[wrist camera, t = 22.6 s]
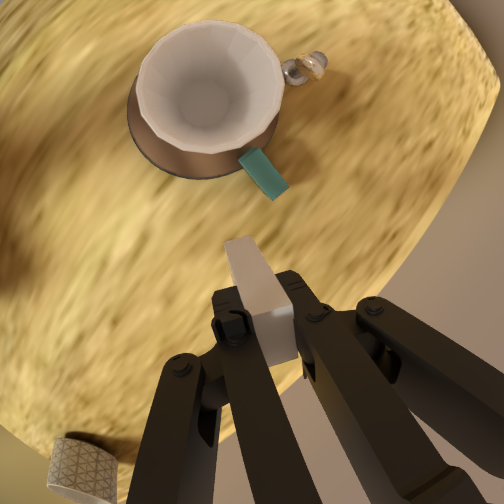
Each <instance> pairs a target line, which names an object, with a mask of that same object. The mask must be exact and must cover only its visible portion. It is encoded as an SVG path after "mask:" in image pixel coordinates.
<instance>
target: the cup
mask: <svg viewBox="0 0 504 504" xmlns="http://www.w3.org/2000/svg"><path fill="white" fill-rule="evenodd" d="M284 87H285V82H284V77H283V73H282V68H281V64H280V59H279V58H278V56H277V55H276V54H275V52H274V51H273V50H272V48H271V47H270V46H269V44H268V43H267V42H266V40H265V39H264V38H263V37H261V36H260V35H258V34H256V33H255V32H253V31H251V30H250V29H248V28H246V27H245V26H243V25H241V24H237V23H232V22H226V21H220V20H213V19H211V20H205V21H199V22H194V23H189V24H185V25H182V26H180V27H179V28H177V29H175V30H174V31H172V32H170V33H169V34H167V35H165V36H164V37H162V38H161V39H159V40H158V41H157V42H156V44H155V45H154V46H153V48H152V49H151V50H150V52H149V53H148V54H147V56H146V57H145V58H144V60H143V61H142V63H141V67H140V71H139V75H138V80H137V84H136V94H137V99H138V104H139V108H140V113H141V116H142V117H143V118H144V120H145V121H146V122H147V124H148V125H149V126H150V127H151V129H152V130H153V131H154V133H155V134H156V135H157V137H159V138H161V139H163V140H164V141H166V142H168V143H170V144H172V145H174V146H175V147H177V148H179V149H181V150H183V151H191V152H199V153H206V154H215V153H219V152H223V151H227V150H232V149H236V148H241V147H242V146H244V145H245V144H246V143H248V142H249V141H251V140H253V139H254V138H256V137H257V136H259V135H260V134H262V133H263V132H264V131H265V130H266V129H267V127H268V126H269V124H270V123H271V121H272V120H273V118H274V117H275V116H276V114H277V113H278V111H279V110H280V106H281V101H282V96H283V92H284Z"/></svg>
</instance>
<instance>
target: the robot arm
mask: <svg viewBox="0 0 504 504" xmlns="http://www.w3.org/2000/svg"><path fill="white" fill-rule="evenodd" d="M223 243H224V247H225V251H226V255H227V259H228V263H229V267H230V271H231V275H232V279H233V283H234V286H233V287H229V288H225V289H221V290H217V291H215V292H214V294H213V296H212V305H213V310H214V316H215V317H214V318H213V319H212V323H211V326H212V329H213V332H214V335H215V338H216V340H217V343H216V344H215V346H214V347H213V348H212V349H211V350H210V351H208V352H207V353H205V354H203V355H201V356H199V357H197V356H196V355H194V354H191V353H182V354H178V355H176V356H174V357H171V358H170V359H169V360H168V361H167V362H166V364H165V365H164V367H163V370H162V373H161V376H160V379H159V383H158V386H157V389H156V392H155V396H154V399H153V402H152V406H151V409H150V413H149V416H148V420H147V423H146V427H145V430H144V434H143V437H142V441H141V445H140V448H139V452H138V456H137V460H136V464H135V468H134V472H133V476H132V480H131V484H130V488H129V493H128V497H127V501H126V504H213V492H214V482H215V471H216V461H217V451H218V441H219V431H220V422H221V412H222V406H224V405H226V404H228V403H230V406H231V411H232V415H233V420H234V424H235V428H236V433H237V437H238V441H239V444H240V448H241V453H242V457H243V461H244V464H245V468H246V472H247V476H248V480H249V483H250V487H251V491H252V494H253V498H254V501H255V504H322V501H321V499H320V497H319V494H318V492H317V489H316V487H315V485H314V483H313V480H312V477H311V475H310V473H309V470H308V468H307V466H306V463H305V461H304V458H303V456H302V453H301V451H300V448H299V446H298V443H297V441H296V438H295V436H294V433H293V431H292V428H291V425H290V423H289V421H288V418H287V415H286V413H285V410H284V408H283V405H282V402H281V400H280V397H279V395H278V392H277V389H276V387H275V384H274V381H273V379H272V376H271V373H270V371H269V368H268V367H271V366H274V365H278V364H281V363H284V362H287V361H290V360H293V359H296V358H298V351H299V353H300V355H301V357H302V366H303V376H304V379H306V378H307V376H308V378H309V380H310V382H311V385H312V386H313V389H314V390H315V392H316V394H317V396H318V399H319V401H320V403H321V404H322V407H323V409H324V411H325V412H326V415H327V417H328V419H329V421H330V423H331V425H332V427H333V429H334V431H335V433H336V435H337V437H338V439H339V441H340V443H341V445H342V447H343V449H344V451H345V453H346V455H347V457H348V459H349V460H350V463H351V465H352V467H353V469H354V471H355V473H356V475H357V476H358V479H359V481H360V483H361V485H362V487H363V489H364V491H365V493H366V495H367V497H368V498H369V500H370V502H371V504H490V503H486V501H485V499H484V498H483V497H482V495H481V493H480V492H479V490H478V488H477V487H476V485H475V484H474V482H473V481H472V479H471V478H470V476H469V475H468V474H467V473H466V472H465V471H464V470H463V469H461V468H460V467H456V466H450V465H448V464H447V463H446V462H445V461H444V460H443V459H442V457H441V456H440V454H439V453H438V451H437V450H436V448H435V447H434V445H433V444H432V442H431V441H430V439H429V438H428V436H427V435H426V434H425V432H424V431H423V429H422V428H421V426H420V425H419V424H418V422H417V421H416V419H415V418H414V416H413V415H412V414H411V412H413V413H414V414H415V415H416V416H417V417H419V418H420V419H421V420H422V421H424V422H425V423H426V424H427V425H428V426H430V427H431V428H432V429H433V430H434V431H436V432H437V433H438V434H439V435H441V436H442V437H443V438H444V439H445V440H447V441H448V442H449V443H450V444H452V445H453V446H454V447H455V448H456V449H458V450H459V451H460V452H462V453H463V454H464V455H465V456H466V457H468V458H469V459H470V460H471V461H473V462H474V463H475V464H476V465H478V466H479V467H480V468H482V469H483V470H485V471H486V472H488V473H489V474H491V475H493V476H496V477H498V478H501V479H504V374H503V373H502V372H500V371H499V370H497V369H496V368H494V367H493V366H491V365H490V364H488V363H487V362H485V361H484V360H482V359H480V358H479V357H478V356H476V355H474V354H473V353H471V352H470V351H468V350H467V349H465V348H464V347H462V346H461V345H459V344H457V343H456V342H454V341H453V340H451V339H450V338H448V337H446V336H445V335H443V334H442V333H440V332H438V331H437V330H435V329H434V328H432V327H430V326H429V325H427V324H426V323H424V322H422V321H420V320H419V319H418V318H416V317H414V316H413V315H411V314H409V313H408V312H406V311H405V310H403V309H401V308H400V307H398V306H396V305H395V304H393V303H391V302H390V301H388V300H386V299H384V298H381V297H376V296H372V297H366V298H364V299H362V300H361V301H359V302H358V304H357V307H356V310H348V311H335V310H334V309H333V308H332V307H331V306H329V305H327V304H324V303H320V301H319V300H318V299H317V297H316V296H315V295H314V293H313V292H312V291H311V289H310V288H309V287H308V286H307V284H306V283H305V281H304V280H303V279H302V277H301V276H300V275H299V274H298V273H296V272H294V271H292V270H288V271H285V272H281V273H277V274H274V273H273V271H272V270H271V268H270V266H269V265H268V263H267V261H266V260H265V258H264V256H263V255H262V253H261V251H260V250H259V248H258V246H257V245H256V243H255V242H254V240H253V238H252V237H251V235H250V236H246V237H242V238H238V239H234V240H230V241H226V242H223ZM409 410H410V411H411V412H410V411H409Z"/></svg>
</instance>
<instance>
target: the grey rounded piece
mask: <svg viewBox="0 0 504 504" xmlns="http://www.w3.org/2000/svg"><path fill="white" fill-rule="evenodd" d="M327 64H328V60H327V57H326V56H325V55H324V54H323V53H321V52H318V51H316V52H313V53H311V54H308V53H302V54H301V55H300V56H299V57H298V58H296V59H292V60H288V61H286V62H285V63H284V64H283V65H282V66H281V68H282V73H283V77H284V81H285V82H286V83H287V84H289V85H292V86H299V85H301V84H304V83H305V82H306V81H307V80H308V78H309V79H311V80H313V81H318V80H320V79H321V78H322V77H323V76H324V75H325V74H326V70H325V67H326V66H327Z"/></svg>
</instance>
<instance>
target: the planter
mask: <svg viewBox="0 0 504 504" xmlns="http://www.w3.org/2000/svg"><path fill="white" fill-rule="evenodd" d="M117 470H118V461H117V460H116V458H115V457H114V456H112V455H111V454H110V453H108V452H106V451H104V450H103V449H102V448H100V447H98V446H97V445H95V444H93V443H91V442H88V441H85V440H81V439H69V438H58V439H56V440H55V442H54V446H53V451H52V456H51V462H50V467H49V474H48V480H47V487H48V488H49V489H50V490H52V491H53V492H55V493H57V494H58V495H60V496H62V497H64V498H67V499H69V500H72V501H74V502H77V503H81V504H117Z"/></svg>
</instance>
